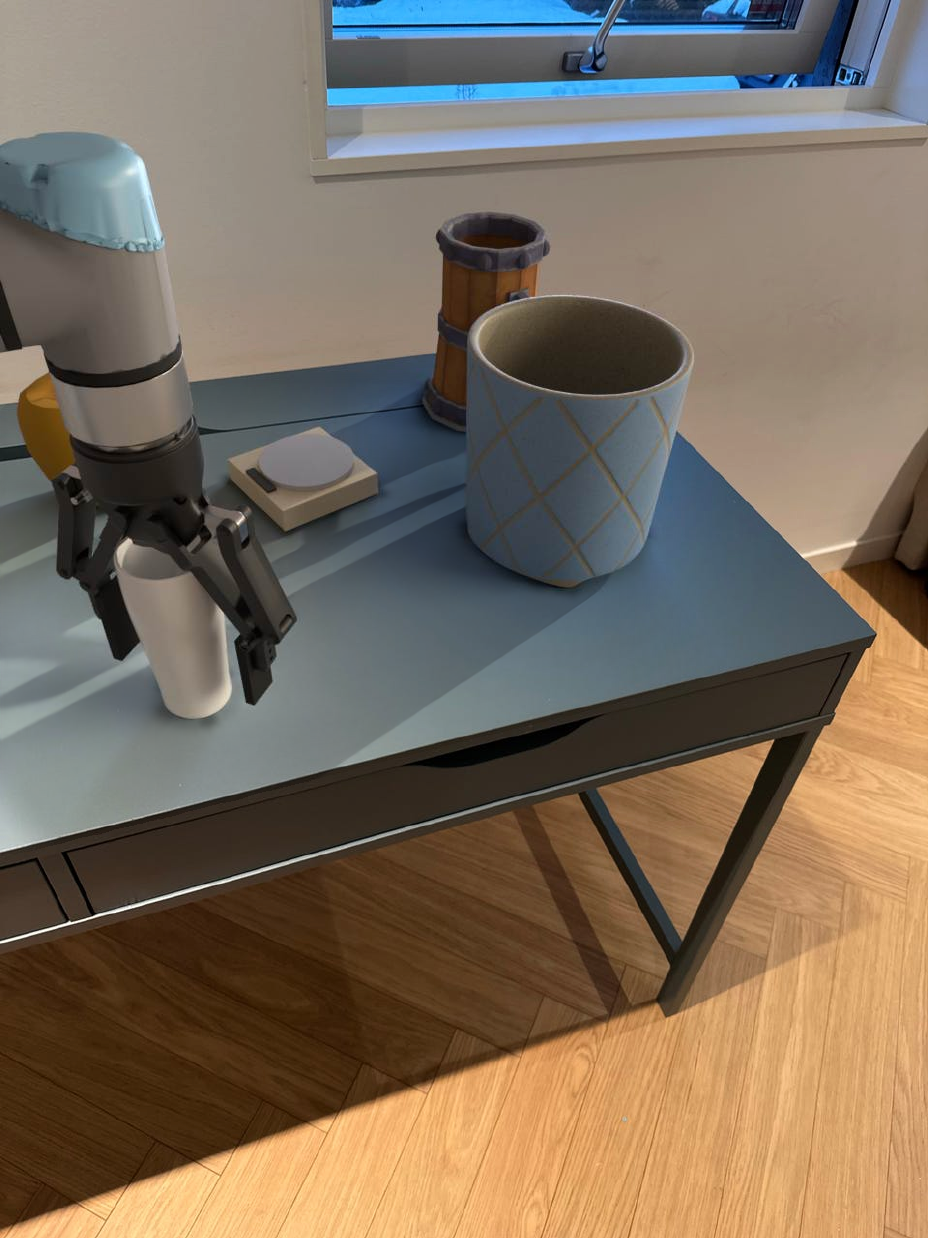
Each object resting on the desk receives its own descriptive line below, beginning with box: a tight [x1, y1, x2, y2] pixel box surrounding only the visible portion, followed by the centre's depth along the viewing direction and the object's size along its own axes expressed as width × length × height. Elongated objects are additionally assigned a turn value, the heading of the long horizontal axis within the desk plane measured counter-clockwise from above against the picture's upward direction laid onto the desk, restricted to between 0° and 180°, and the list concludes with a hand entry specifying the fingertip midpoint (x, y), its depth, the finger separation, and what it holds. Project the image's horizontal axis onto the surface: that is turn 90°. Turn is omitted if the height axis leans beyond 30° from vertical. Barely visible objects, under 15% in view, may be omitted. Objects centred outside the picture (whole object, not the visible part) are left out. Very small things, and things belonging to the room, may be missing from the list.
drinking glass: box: [113, 535, 233, 720], centre depth 67 cm, size 7×7×15 cm
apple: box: [16, 371, 101, 508], centre depth 87 cm, size 11×11×13 cm
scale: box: [227, 426, 379, 532], centre depth 93 cm, size 11×11×3 cm
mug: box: [421, 211, 551, 433], centre depth 99 cm, size 19×14×20 cm
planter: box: [465, 294, 695, 589], centre depth 83 cm, size 19×19×20 cm
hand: (192, 670), depth 70 cm, fingers open, 11 cm apart
